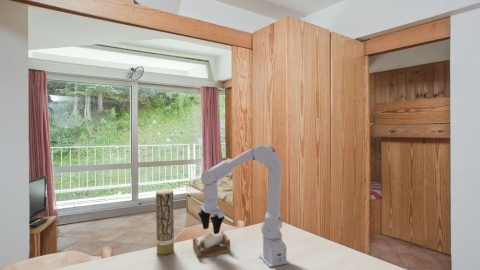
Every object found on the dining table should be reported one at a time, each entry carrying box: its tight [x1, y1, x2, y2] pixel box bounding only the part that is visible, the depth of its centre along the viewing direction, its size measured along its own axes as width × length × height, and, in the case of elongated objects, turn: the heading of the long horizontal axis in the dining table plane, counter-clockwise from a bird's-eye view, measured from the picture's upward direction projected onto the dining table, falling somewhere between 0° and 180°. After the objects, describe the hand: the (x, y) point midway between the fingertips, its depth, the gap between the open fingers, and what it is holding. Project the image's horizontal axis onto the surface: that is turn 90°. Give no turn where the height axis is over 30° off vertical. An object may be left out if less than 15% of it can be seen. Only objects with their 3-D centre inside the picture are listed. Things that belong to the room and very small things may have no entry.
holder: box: [192, 231, 231, 259], centre depth 108 cm, size 10×13×5 cm
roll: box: [199, 231, 223, 249], centre depth 108 cm, size 5×8×5 cm, turn 131°
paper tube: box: [155, 188, 175, 256], centre depth 107 cm, size 7×7×25 cm
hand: (211, 231), depth 108 cm, fingers open, 7 cm apart
